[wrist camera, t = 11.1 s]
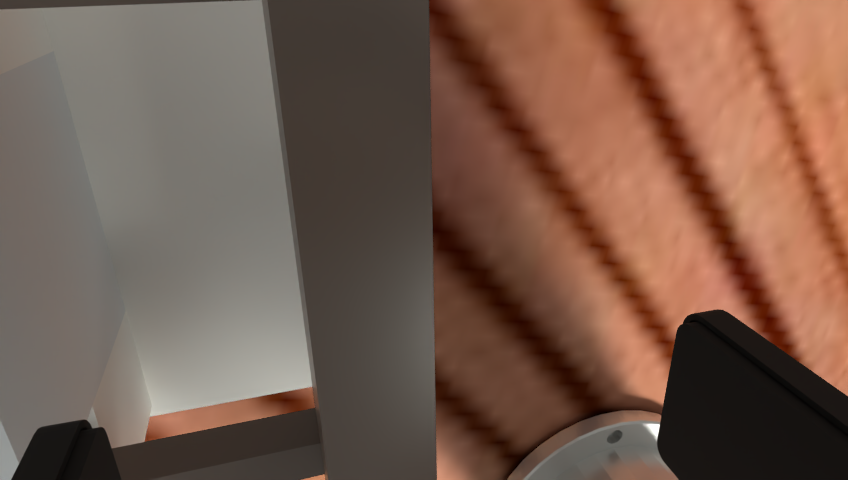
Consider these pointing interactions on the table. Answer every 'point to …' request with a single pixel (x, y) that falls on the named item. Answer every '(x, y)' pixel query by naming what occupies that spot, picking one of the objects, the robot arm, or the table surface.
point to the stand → (140, 219)
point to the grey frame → (339, 251)
